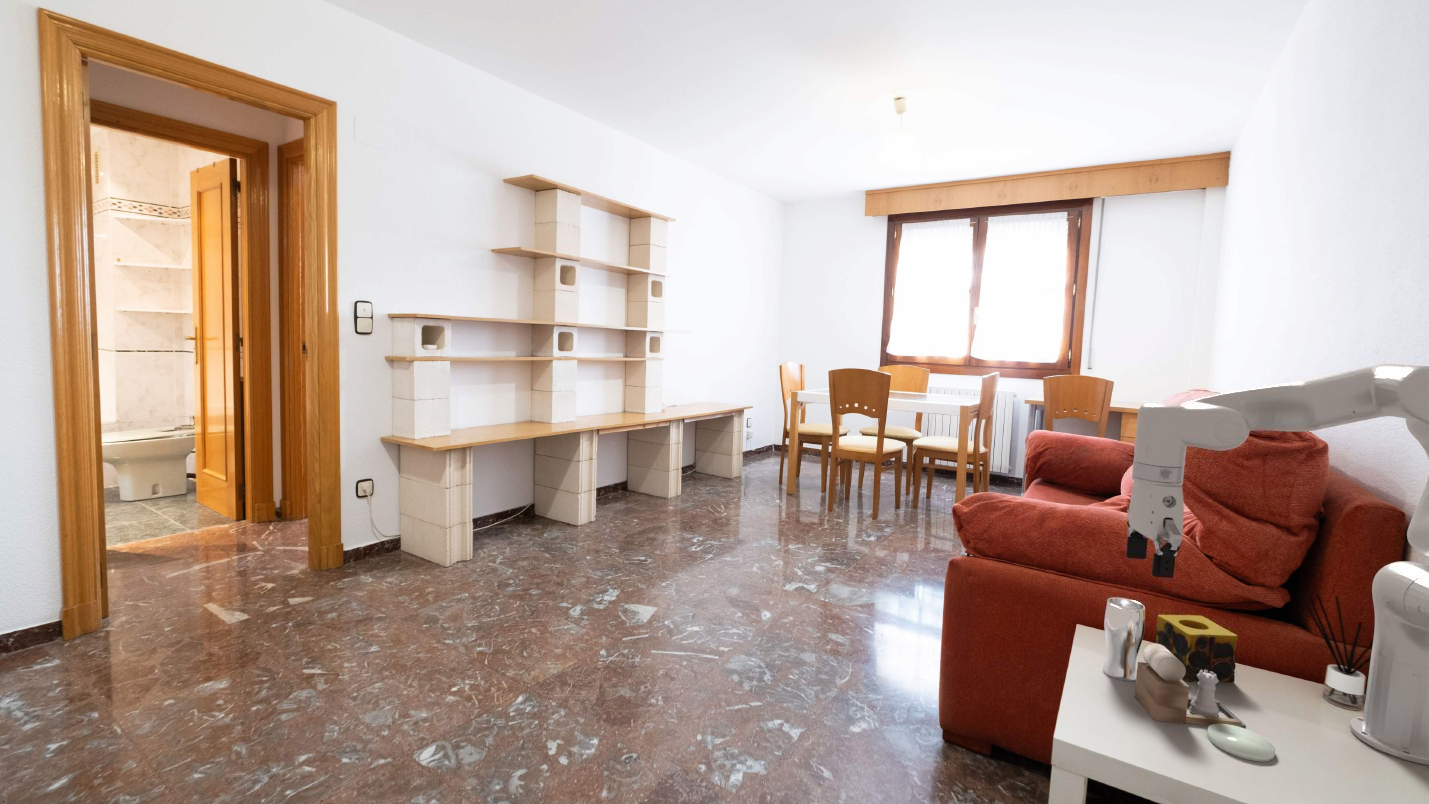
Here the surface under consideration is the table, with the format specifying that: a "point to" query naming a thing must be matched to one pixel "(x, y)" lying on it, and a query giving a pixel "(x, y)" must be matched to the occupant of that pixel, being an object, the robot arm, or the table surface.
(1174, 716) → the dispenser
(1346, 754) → the table surface
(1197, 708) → the rook chess piece
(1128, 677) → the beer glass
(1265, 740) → the pale green round disc
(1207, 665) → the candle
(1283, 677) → the table surface
